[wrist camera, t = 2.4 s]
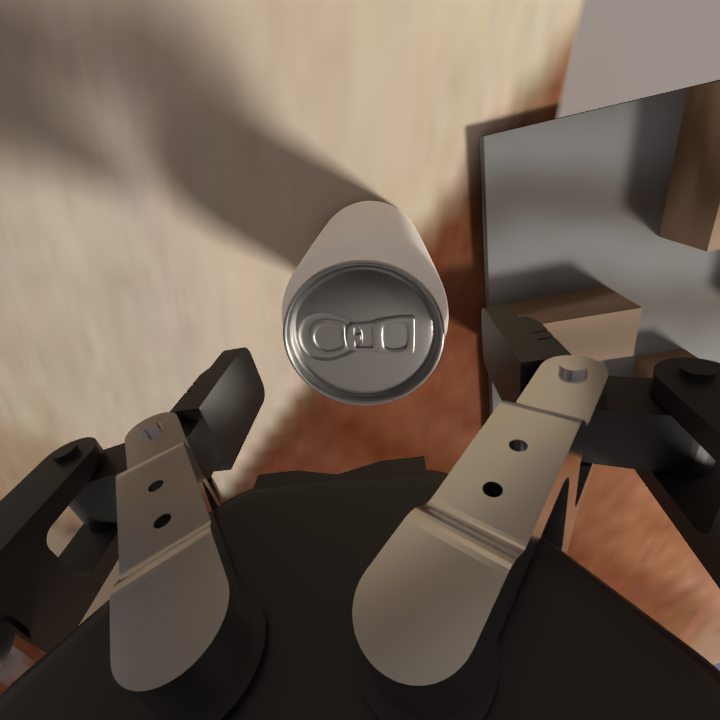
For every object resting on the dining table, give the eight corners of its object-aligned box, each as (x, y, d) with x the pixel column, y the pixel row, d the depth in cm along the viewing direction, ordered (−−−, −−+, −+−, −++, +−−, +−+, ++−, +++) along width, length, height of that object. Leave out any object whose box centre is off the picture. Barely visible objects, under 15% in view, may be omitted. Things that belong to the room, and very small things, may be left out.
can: (313, 202, 21) (252, 251, 11) (422, 195, 21) (466, 240, 11) (324, 304, 25) (286, 416, 14) (419, 300, 24) (451, 413, 14)
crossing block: (479, 137, 19) (504, 133, 16) (976, 18, 16) (1162, -23, 12) (491, 439, 30) (507, 482, 26) (792, 402, 27) (861, 444, 23)
